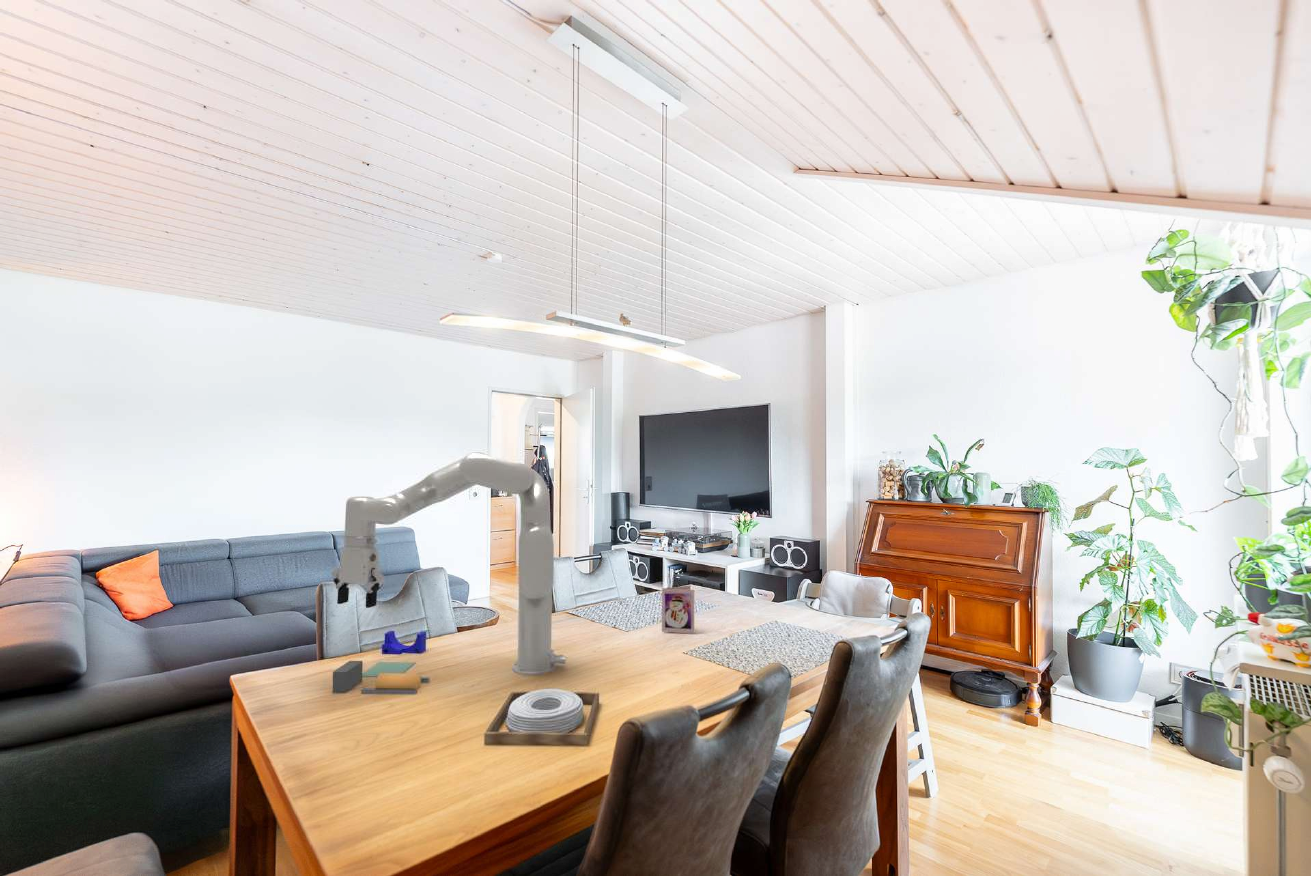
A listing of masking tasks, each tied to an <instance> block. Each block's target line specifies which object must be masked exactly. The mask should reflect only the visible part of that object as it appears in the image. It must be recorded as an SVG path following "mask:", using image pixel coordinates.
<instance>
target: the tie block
mask: <svg viewBox="0 0 1311 876" xmlns="http://www.w3.org/2000/svg"><path fill="white" fill-rule="evenodd" d="M363 663H364V661H363V660H349V661H347V662H345V663H344V664H343V665H341V666H339V667H338V668H336V669H334V670H333V671H332V694H346V693H348V692H350V691H351V690H353V689H354V688H355V687H356V686H358V685H359V684H361V683H362V682H363V677H362V674H363V669H364V668H363V665H364V664H363Z"/></svg>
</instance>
